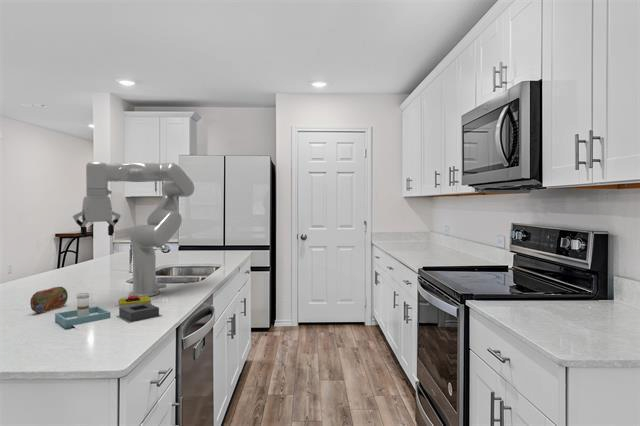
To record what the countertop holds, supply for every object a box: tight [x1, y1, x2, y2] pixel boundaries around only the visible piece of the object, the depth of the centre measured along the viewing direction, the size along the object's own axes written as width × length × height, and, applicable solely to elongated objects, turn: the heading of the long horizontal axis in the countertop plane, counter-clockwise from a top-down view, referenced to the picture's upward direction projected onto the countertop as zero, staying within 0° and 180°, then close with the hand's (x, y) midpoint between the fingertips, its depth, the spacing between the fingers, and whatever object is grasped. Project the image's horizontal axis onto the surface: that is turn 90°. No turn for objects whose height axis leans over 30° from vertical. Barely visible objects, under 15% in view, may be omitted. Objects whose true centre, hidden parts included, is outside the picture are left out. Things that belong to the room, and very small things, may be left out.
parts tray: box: [54, 305, 111, 330], centre depth 144 cm, size 14×12×3 cm
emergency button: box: [114, 296, 152, 308], centre depth 165 cm, size 9×4×15 cm
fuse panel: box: [115, 303, 163, 324], centre depth 147 cm, size 12×12×4 cm
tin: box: [29, 286, 69, 314], centre depth 159 cm, size 15×3×8 cm, turn 168°
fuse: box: [76, 292, 90, 318], centre depth 144 cm, size 4×4×9 cm
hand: (97, 236), depth 163 cm, fingers open, 9 cm apart
